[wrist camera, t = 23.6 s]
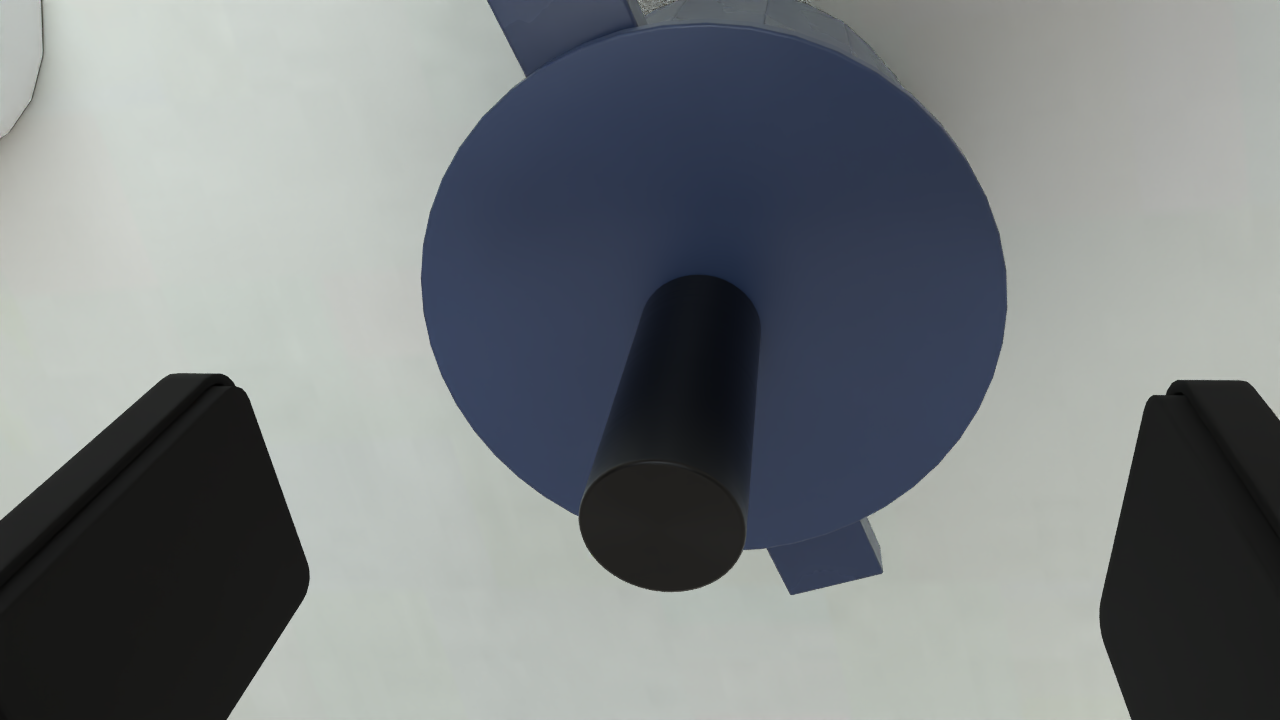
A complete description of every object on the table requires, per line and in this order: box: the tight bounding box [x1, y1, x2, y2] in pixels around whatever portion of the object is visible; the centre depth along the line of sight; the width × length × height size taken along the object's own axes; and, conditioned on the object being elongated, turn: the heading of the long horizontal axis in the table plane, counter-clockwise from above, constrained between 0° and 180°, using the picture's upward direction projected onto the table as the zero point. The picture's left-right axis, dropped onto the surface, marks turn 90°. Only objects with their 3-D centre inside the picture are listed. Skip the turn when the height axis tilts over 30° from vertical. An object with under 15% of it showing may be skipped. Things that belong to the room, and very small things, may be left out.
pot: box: [487, 0, 902, 595], centre depth 23 cm, size 11×16×10 cm, turn 26°
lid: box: [421, 18, 1007, 592], centre depth 16 cm, size 12×12×7 cm
